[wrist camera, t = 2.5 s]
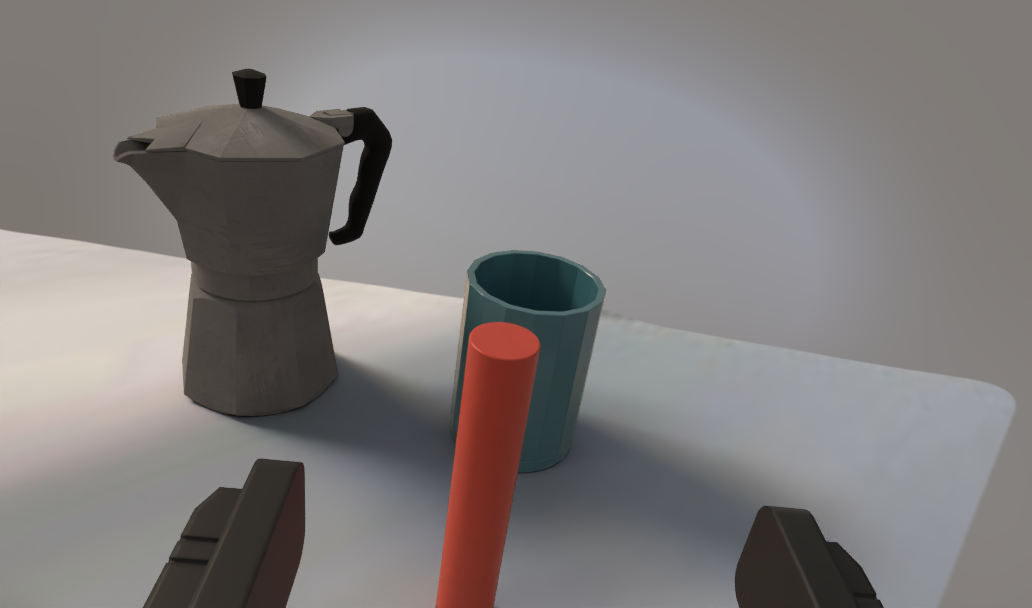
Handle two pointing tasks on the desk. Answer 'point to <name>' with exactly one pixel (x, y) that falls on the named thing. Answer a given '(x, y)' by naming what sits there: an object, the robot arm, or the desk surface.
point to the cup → (559, 328)
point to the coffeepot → (257, 238)
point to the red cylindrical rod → (486, 461)
